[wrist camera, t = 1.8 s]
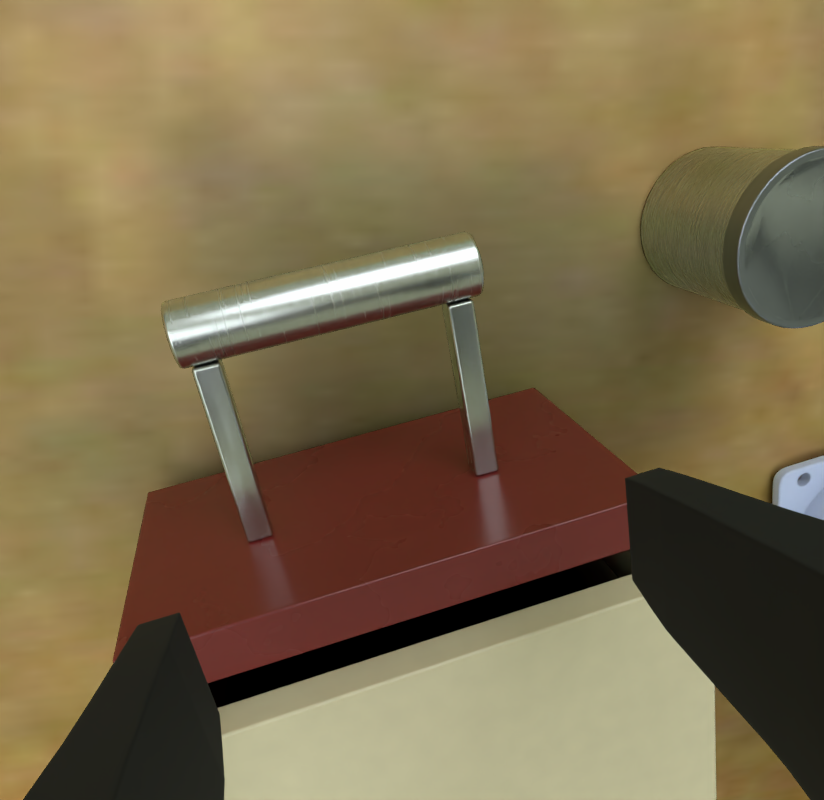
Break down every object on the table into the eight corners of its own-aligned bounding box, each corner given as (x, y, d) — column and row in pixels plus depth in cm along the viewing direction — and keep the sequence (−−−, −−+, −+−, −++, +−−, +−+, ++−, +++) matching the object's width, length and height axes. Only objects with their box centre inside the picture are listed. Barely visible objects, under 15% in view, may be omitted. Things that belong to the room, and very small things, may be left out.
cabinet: (148, 532, 21) (102, 775, 13) (546, 421, 23) (714, 573, 15) (275, 856, 27) (296, 1160, 19) (584, 745, 28) (720, 978, 21)
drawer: (70, 291, 17) (-16, 382, 11) (510, 192, 19) (649, 223, 13) (273, 822, 25) (289, 1052, 19) (574, 716, 26) (680, 894, 20)
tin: (766, 129, 21) (900, 129, 17) (764, 273, 23) (885, 306, 19) (632, 159, 20) (737, 167, 16) (640, 305, 22) (737, 347, 18)
